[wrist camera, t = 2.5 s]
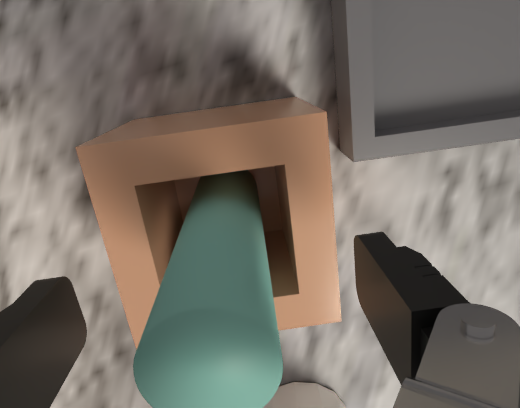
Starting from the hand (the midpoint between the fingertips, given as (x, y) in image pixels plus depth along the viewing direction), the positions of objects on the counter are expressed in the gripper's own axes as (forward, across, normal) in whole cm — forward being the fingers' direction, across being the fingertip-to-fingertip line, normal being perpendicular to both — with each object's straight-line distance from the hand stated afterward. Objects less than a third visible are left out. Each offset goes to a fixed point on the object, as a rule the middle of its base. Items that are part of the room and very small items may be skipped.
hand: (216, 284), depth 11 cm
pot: (+10, 0, 0) cm, 10 cm away
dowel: (+9, 0, 0) cm, 9 cm away
